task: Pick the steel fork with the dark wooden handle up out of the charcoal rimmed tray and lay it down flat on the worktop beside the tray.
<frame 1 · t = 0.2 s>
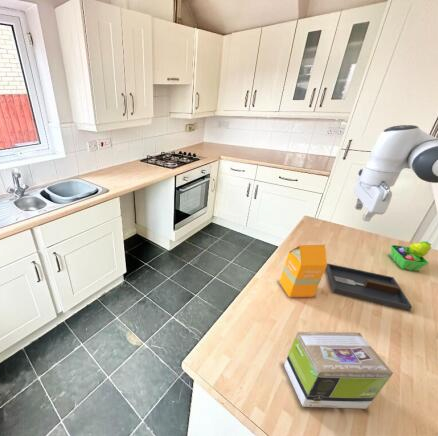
hand: (361, 214, 87), 26 cm above the counter, tool pointing down, fingers open, 8 cm apart
fruit basket: (404, 263, 102), on the counter
tray: (362, 286, 91), on the counter
orange juice: (295, 289, 90), on the counter
tea box: (320, 386, 61), on the counter
fork: (364, 285, 90), resting on tray
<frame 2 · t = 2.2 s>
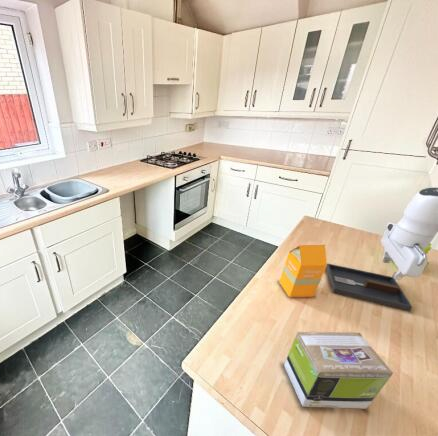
hand: (390, 269, 84), 10 cm above the counter, tool pointing down, fingers open, 8 cm apart
nothing on the counter moved.
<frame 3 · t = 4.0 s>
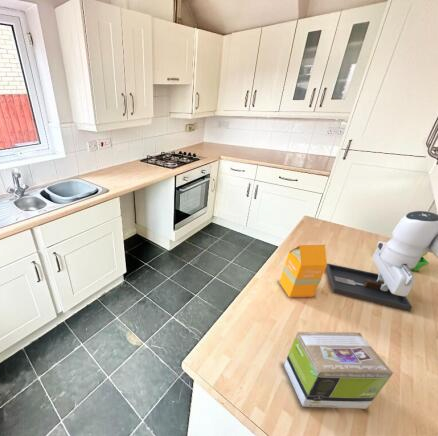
hand: (381, 286, 88), 2 cm above the counter, tool pointing down, fingers closed on fork
fork: (364, 285, 90), point 1 cm above the counter, touching gripper, tray
everything else where it was.
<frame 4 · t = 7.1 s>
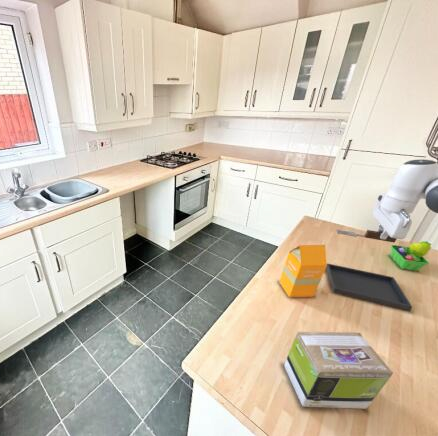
hand: (380, 236, 94), 14 cm above the counter, tool pointing down, fingers closed on fork
fork: (364, 236, 97), point 13 cm above the counter, touching gripper
everything else where it was.
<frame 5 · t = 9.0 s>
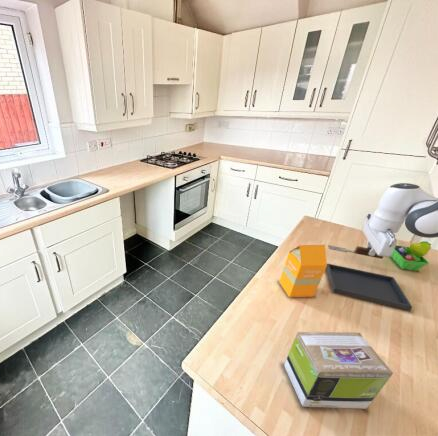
hand: (369, 252, 100), 5 cm above the counter, tool pointing down, fingers closed on fork
fork: (354, 252, 102), point 4 cm above the counter, touching gripper
everything else where it was.
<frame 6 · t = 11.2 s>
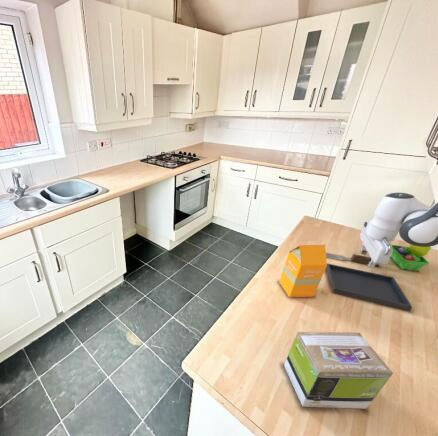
hand: (366, 259, 102), 2 cm above the counter, tool pointing down, fingers open, 8 cm apart
fork: (351, 260, 104), on the counter
everything else where it was.
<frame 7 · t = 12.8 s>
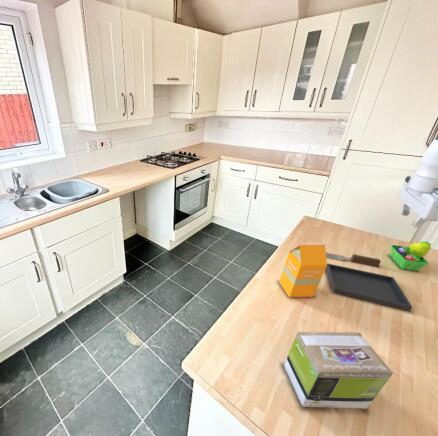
hand: (409, 220, 87), 23 cm above the counter, tool pointing down, fingers open, 8 cm apart
nothing on the counter moved.
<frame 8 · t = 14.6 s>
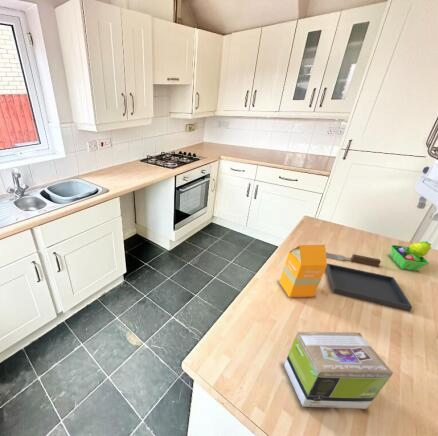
hand: (426, 213, 84), 27 cm above the counter, tool pointing down, fingers open, 8 cm apart
nothing on the counter moved.
at the end: fork inside the target area (0.1 cm from its centre), on the counter; fork touching counter; the gripper is holding nothing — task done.
